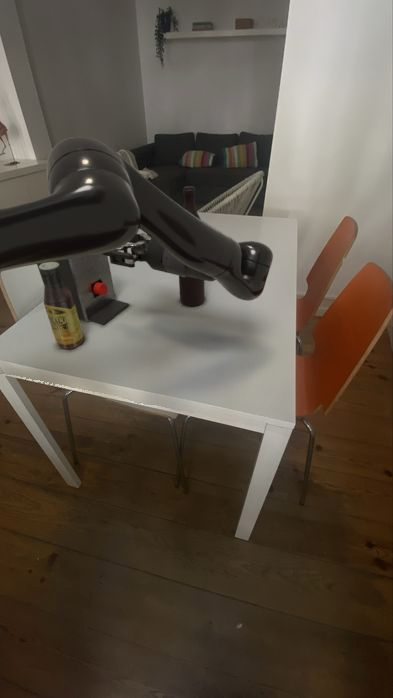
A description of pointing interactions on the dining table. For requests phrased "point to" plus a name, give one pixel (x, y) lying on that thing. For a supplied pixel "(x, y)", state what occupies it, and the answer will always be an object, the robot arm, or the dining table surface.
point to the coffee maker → (91, 287)
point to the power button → (100, 289)
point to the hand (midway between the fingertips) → (114, 242)
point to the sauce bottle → (60, 307)
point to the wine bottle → (188, 285)
